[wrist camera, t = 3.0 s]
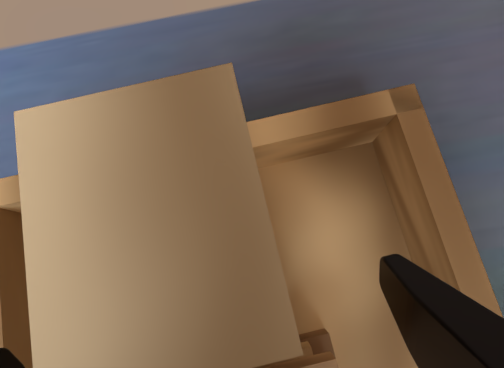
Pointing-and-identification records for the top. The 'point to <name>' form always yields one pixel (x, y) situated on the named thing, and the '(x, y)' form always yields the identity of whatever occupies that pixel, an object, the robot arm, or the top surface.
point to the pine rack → (327, 222)
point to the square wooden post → (150, 231)
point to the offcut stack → (311, 353)
